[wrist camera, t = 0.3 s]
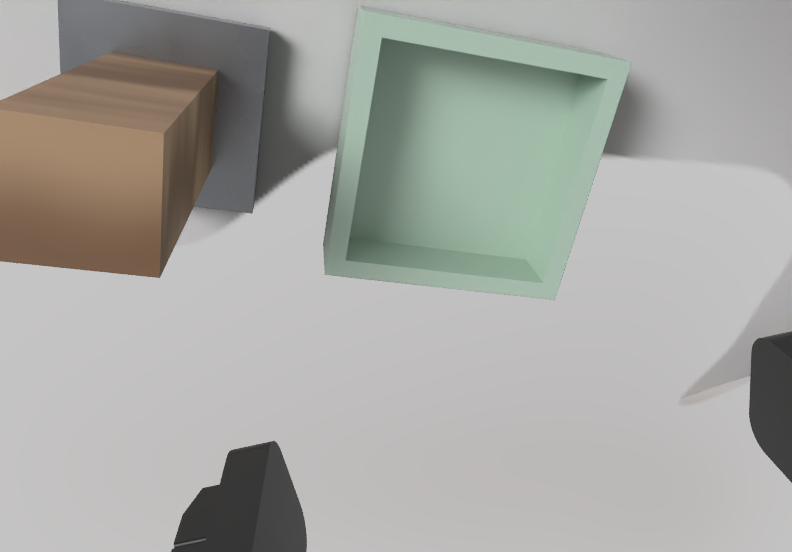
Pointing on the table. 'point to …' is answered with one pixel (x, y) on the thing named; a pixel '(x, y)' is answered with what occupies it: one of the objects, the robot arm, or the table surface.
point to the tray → (465, 155)
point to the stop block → (105, 164)
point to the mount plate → (191, 45)
